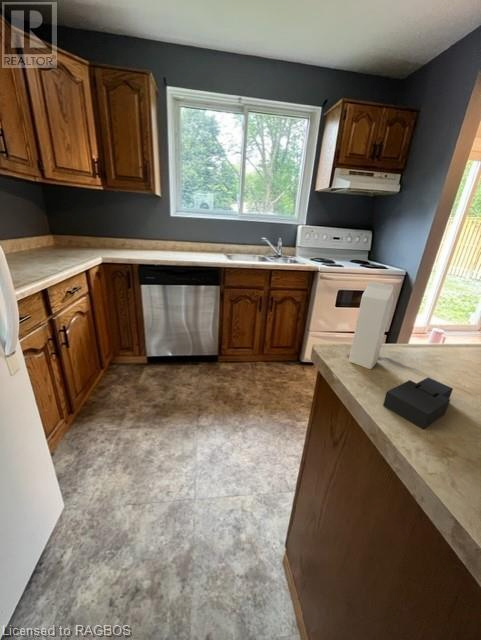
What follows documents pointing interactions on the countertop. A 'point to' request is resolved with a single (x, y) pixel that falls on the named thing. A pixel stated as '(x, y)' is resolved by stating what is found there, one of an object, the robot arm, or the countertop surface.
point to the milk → (371, 324)
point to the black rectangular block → (434, 388)
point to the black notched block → (415, 404)
